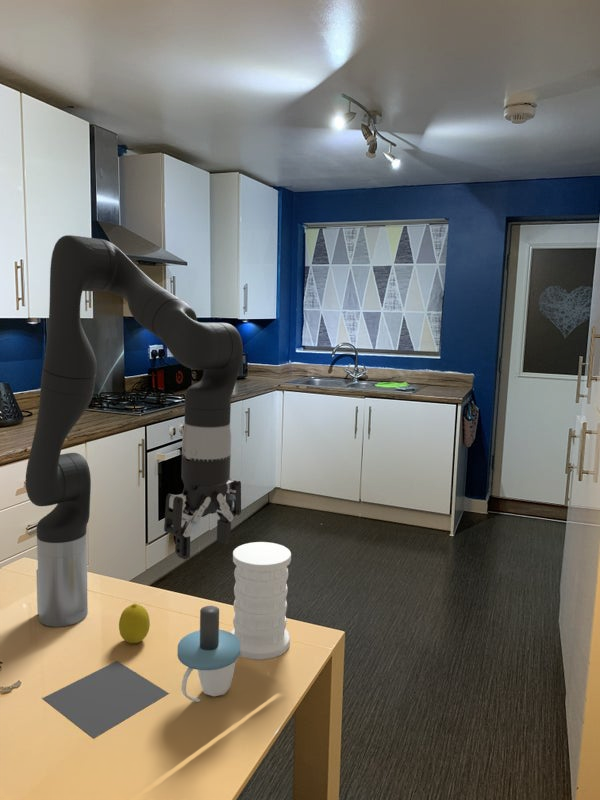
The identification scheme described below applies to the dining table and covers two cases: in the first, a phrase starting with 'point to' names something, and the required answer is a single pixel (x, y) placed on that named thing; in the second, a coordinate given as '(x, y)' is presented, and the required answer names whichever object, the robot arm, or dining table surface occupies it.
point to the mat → (105, 698)
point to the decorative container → (261, 599)
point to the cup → (211, 681)
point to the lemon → (134, 623)
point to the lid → (209, 644)
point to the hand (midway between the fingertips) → (203, 549)
